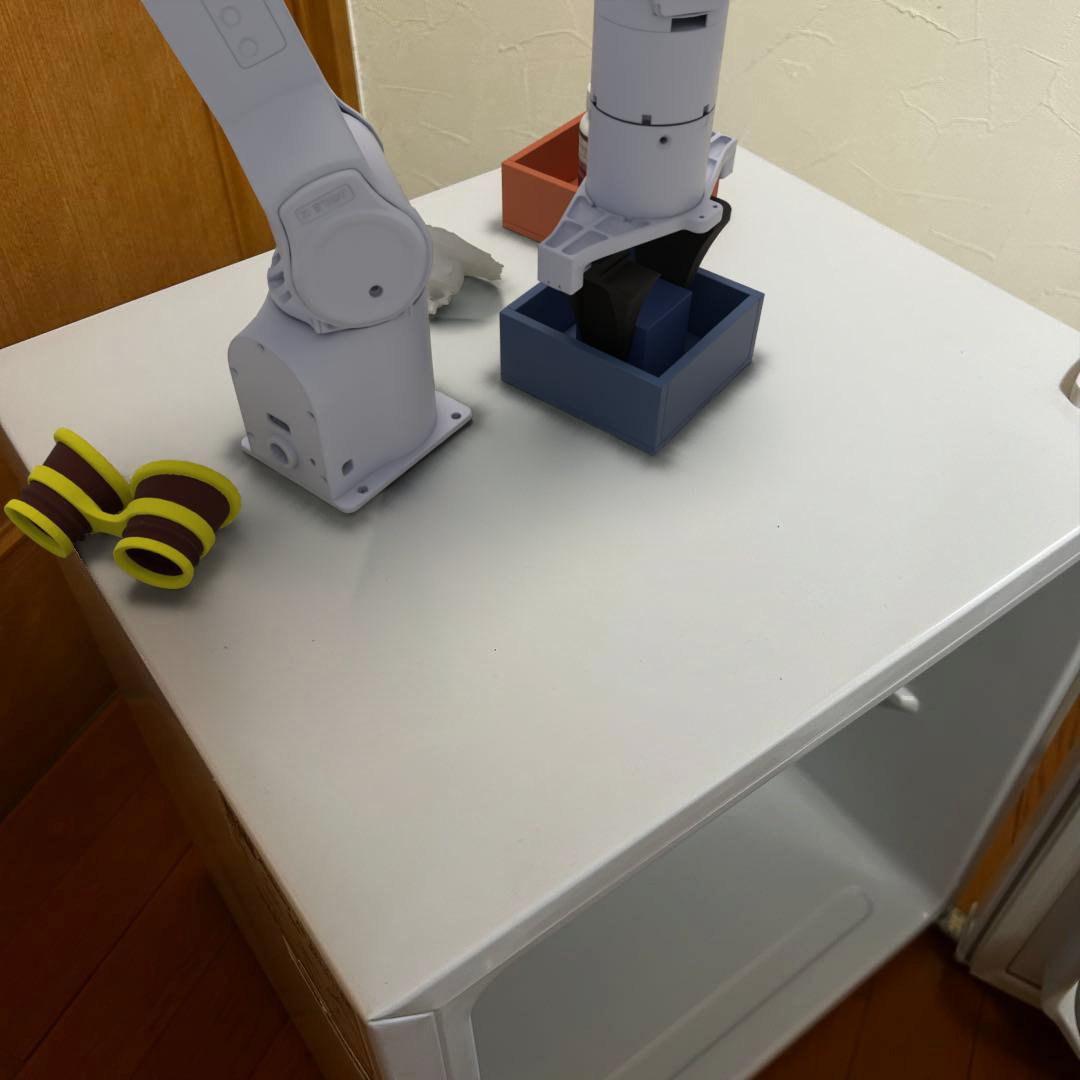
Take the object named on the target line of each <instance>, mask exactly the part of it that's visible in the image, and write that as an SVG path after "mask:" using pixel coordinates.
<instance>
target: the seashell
mask: <svg viewBox="0 0 1080 1080" xmlns="http://www.w3.org/2000/svg"><path fill="white" fill-rule="evenodd" d="M426 226H427V228H428V230H429V232H430V235H431V239H432V243H433V253H434V256H433V266H432V270H431V274H430V277H429V279H428V281H427V284H426V290H427V302H428V314H429V315H430V314H431V315H435V314H436V313H437V311H438V308H442V307H443V306H448V305H449V304H450V302H451V301H452V295H456V294H458V293H459V291H460V290H461V288H462V285H463V283H464V281H465V280H464V279H465V276H466V277H477V278H482V279H485V280H487V281H489V282H494V281H501V280H502V278H501V276H502V275H501V274H502V273H503V270H504V268H505V265H504V264H502V263H500V262H499V261H496V260H495V259H494V258H493V257H492V254H491V253H489V252H487V251H485V250H483V249H481V248H479V247H477V246H475V245H474V244H471V243H470V242H468V241H467V240H465V239H464V238H462V237H460V235H458V234H456V233H455V232H453V231H450V230H447V229H446V228H443V227H439V226H432V225H431V224H426Z"/></svg>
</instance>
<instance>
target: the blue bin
mask: <svg viewBox="0 0 1080 1080" xmlns="http://www.w3.org/2000/svg"><path fill="white" fill-rule="evenodd" d="M626 253H627V254H629V253H631V254H632V262H633V263H635V252H634V247H631V248H628V249H627V252H626ZM689 291H692V298H691V305H690V312H689V320H688V327H687V334H686V341H685V349H684V355H683V356H682V357H681V358H680V359H679V360H678V361H677V362H676V363H674V364H673V365H672V366H671V367H670V368H669V369H668V370H667V371H666V372H664V373H663V374H662V375H661V376H660V377H659V378H658V377H656V376H653V375H651V374H649V373H647V372H645V371H643V370H641V369H638V368H636V367H634V366H632V365H630V364H628V363H626V362H623V361H621V360H619V359H617V358H615V357H613V356H610V355H608V354H606V353H604V352H602V351H600V350H598V349H595V348H593V347H591V346H589V345H587V344H585V343H583V342H580V341H578V340H576V318H575V315H574V312H573V309H572V307H571V305H570V302H569V300H568V298H567V296H566V294H565V292H562V291H559V290H557V289H555V288H552V287H550V286H548V285H547V284H544V283H542V282H540V281H538V283H536V284H535V285H533V286H532V287H531V288H530V289H528V290H527V291H525V292H524V293H523V294H521V295H520V296H518V297H517V298H515V300H513V301H512V302H510V303H509V304H508V305H506V306H505V307H504V308H502V309H501V310H499V312H498V319H499V320H498V321H499V322H498V324H499V362H500V366H499V367H500V380H502V381H504V382H506V383H508V384H510V385H512V386H513V387H516V388H518V389H520V390H522V391H524V392H526V393H527V394H530V395H532V396H534V397H536V398H537V399H539V400H542V401H543V402H545V403H548V404H550V405H551V406H554V407H555V408H557V409H559V410H561V411H563V412H566V413H567V414H570V415H571V416H573V417H575V418H577V419H580V420H581V421H584V422H585V423H587V424H589V425H591V426H593V427H595V428H597V429H599V430H601V431H604V433H607V434H609V435H611V436H613V437H615V438H617V439H619V440H621V441H622V442H625V443H627V444H629V445H631V446H632V447H635V448H637V449H638V450H640V451H643V452H644V453H647V454H649V455H650V456H655V455H656V454H657V453H659V451H660V450H661V449H662V448H664V446H665V445H666V444H668V442H670V441H671V440H672V438H674V437H675V436H676V435H677V434H678V433H679V432H680V431H681V430H682V429H683V428H684V427H685V426H686V425H687V424H689V422H690V421H691V420H692V419H693V418H695V416H696V415H697V414H698V413H700V411H701V410H702V409H703V408H705V406H707V405H708V404H709V403H710V402H711V401H712V400H713V399H714V398H715V397H716V396H717V395H718V394H719V393H720V392H721V391H722V390H724V388H725V387H726V386H727V385H729V384H730V383H731V381H732V380H733V379H734V378H736V376H737V375H739V374H740V373H741V372H742V370H743V369H745V368H746V367H747V366H748V365H749V364H750V363H751V362H752V361H753V356H754V351H755V346H756V340H757V336H758V333H759V332H758V331H759V325H760V322H761V315H762V310H763V306H764V300H765V297H766V294H765V292H762V291H760V290H757V289H755V288H752V287H750V286H747V285H745V284H744V283H743V284H742V283H740V282H738V281H735V280H733V279H730V278H729V277H725V276H722V275H720V274H718V273H716V272H713V271H710V270H708V269H705V268H703V267H701V266H699V268H698V270H697V272H696V274H695V277H694V279H693V282H692V284H691V286H690V289H689Z"/></svg>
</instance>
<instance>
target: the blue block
mask: <svg viewBox="0 0 1080 1080" xmlns="http://www.w3.org/2000/svg"><path fill="white" fill-rule="evenodd" d="M691 298H692V291H689V290H687V289H684V288H682V287H680V286H677V285H675V284H673V283H670V282H668V281H665V280H663V279H661V278H658V279H657V280H656V282H655V283H654V285H653V286H652V288H651V289H650V291H649V293H648V295H647V297H646V298H645V300H644V303H643V305H642V308H641V310H640V313H639V316H638V319H637V322H636V326H635V331H634V336H633V341H632V346H631V350H630V354H629V357H628V360H627V363H628V364H630V365H632V366H634V367H636V368H638V369H641V370H643V371H645V372H647V373H649V374H651V375H653V376H656V377H658V378H659V377H660V376H661V375H662V374H663V373H664V372H666V371H667V370H668V369H669V368H670V367H671V366H672V365H673V364H674V363H676V362H677V361H678V360H679V359H680V358H681V357H682V356H683V355H684V349H685V341H686V334H687V327H688V320H689V312H690V305H691ZM576 340H578V341H580V342H582V339H581V335H580V331H579V328H578V324H577V321H576Z"/></svg>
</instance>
